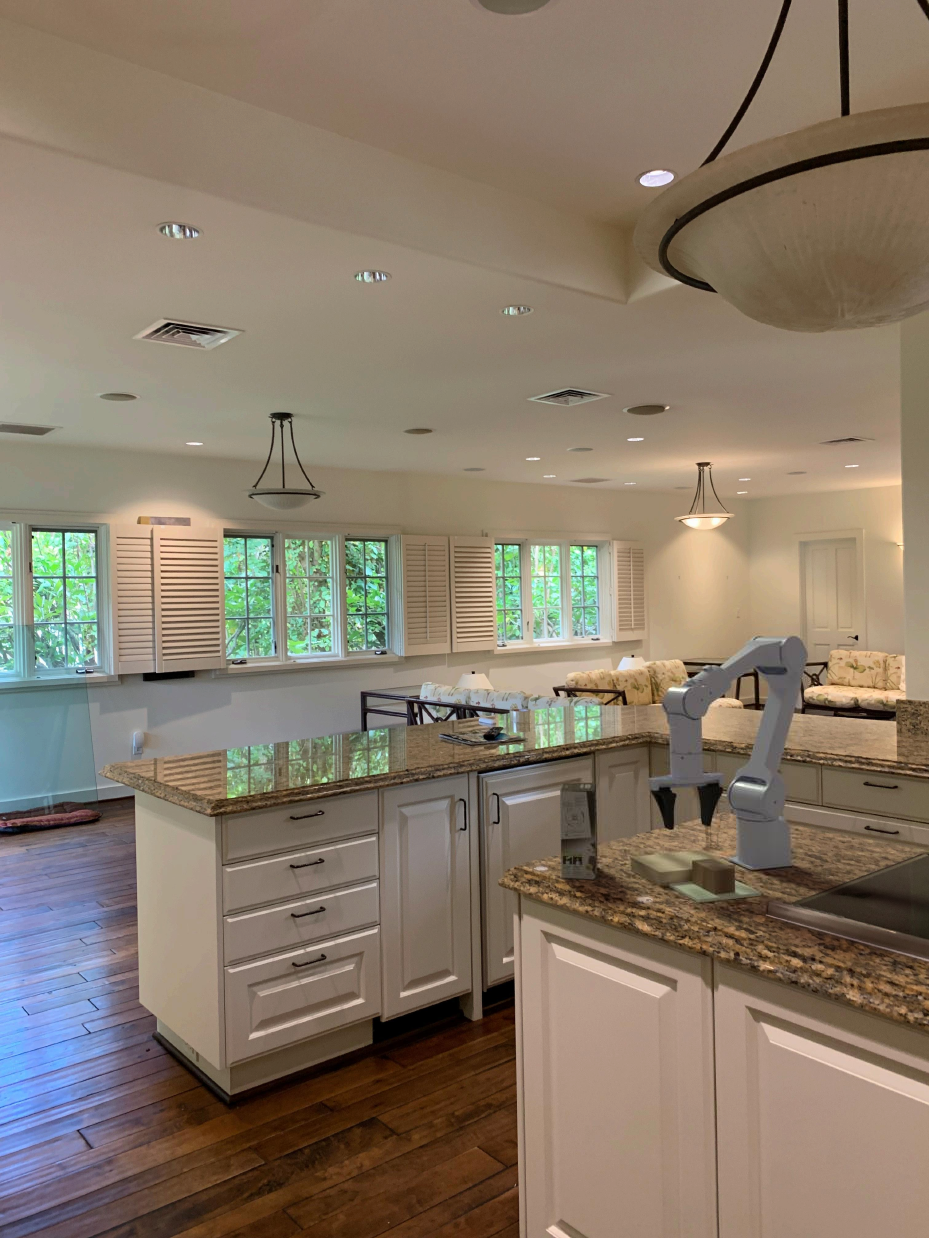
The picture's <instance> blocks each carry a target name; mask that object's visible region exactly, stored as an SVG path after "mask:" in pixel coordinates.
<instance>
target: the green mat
mask: <svg viewBox="0 0 929 1238" xmlns="http://www.w3.org/2000/svg"><path fill="white" fill-rule="evenodd" d="M668 887H669V888H671V889H673V890H674V891H677V893H680V894H682V895H684V897H685V896H686V897H687V898H689V899H690V900H692V901H694V900H695V902H696V903H699V904H700V903H701V902H702V903H709V902H718V900H719V901H727V900H732V899H734V900H735V899H742V898H751V897H752V898H753V897H760V896H762V891H759V890H757V889H755V888H753V887H751V886H748V885H746V884H744V883H742V882H740V881H737V880H736V879H735V892H734V893H726V894H717V895H714V894H712V893H710V892H708V891H706V890H704V889H702V888H700V887H699V886H697V885H695V884H693V883H692V881H690V882H681V883H672V884H669V886H668Z"/></svg>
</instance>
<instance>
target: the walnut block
mask: <svg viewBox="0 0 929 1238" xmlns="http://www.w3.org/2000/svg"><path fill="white" fill-rule="evenodd" d="M735 880H736V869H735V867H734V868H732V867H730V866H728V865H725V864H723V863H721V862H719V861H717V860H714V859H702V860H692V883H693V884H695V885H697V886H699V887H700V888H702V889H704V890H706V891H708V892H710V893H712V894H714V895H717V894H726V893H734V892H735Z"/></svg>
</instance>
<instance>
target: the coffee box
mask: <svg viewBox="0 0 929 1238" xmlns="http://www.w3.org/2000/svg"><path fill="white" fill-rule="evenodd" d="M559 790H560V857H561V858H560V862H561V863H560V865H561V866H560V867H561V868H560V871H561V874H560V876H561V878H563V879H575V880H576V879H577V880H580V879H581V880H593V881H594V880H595V879H596V875H597V870H598V866H599V865H598V819H597V818H598V817H597V815H598V814H597V783H596V782H574V783H571V782H564V783H563V784H562V786H561V789H559Z"/></svg>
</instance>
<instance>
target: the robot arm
mask: <svg viewBox="0 0 929 1238" xmlns="http://www.w3.org/2000/svg"><path fill="white" fill-rule="evenodd" d="M808 658H809V653H808V651H807V649H806V646H805V644H804V642H803V640H802V638H800V637H799V636H797V635H789V636H763V635H756V636H754V637H752V638H751V639H750V640H747V641H746V642H745V643H744V647H742V648H741V649H740V650H739V651H738V652H736V653H735V654H734V655H733V656H731V657H730V658H728V659H727V660H726V661H725V662H724V663H722V664H721V665H720V666H719V665H715V664H714V665H709V664H706V665H705V666H704V665H703V666H702V667H701V670H702V671H700V672H699V673H698V674H696V675H695V676H693V677H691V678H689V677H688V678H687V679H686V680H684V683H683V684H682V685H673V686H671V687H670V688H668V690H667V691H666V692H665V694H664V696H663V700H662V701H661V707H662V709H663V712H664V714H665V715H666V723H668V726H669V727H668V728H669V761H670V762H669V763H670V774H667V775H661V776H657V777H656V776H655V777H649V778H648V790H650V793H651V795H652V797H653V799H654V801H655V802H656V804H657V806H658V809H659V812H660V814H661V818H662V822H663V826H664V828H665V829H666V830H669V831H674V829H675V806H676V799H677V793H675V792H673V790H672V789H678V788H680V789H681V788H689V787H690V788H692V787H693V788H694V787H696V789H697V792H698V793H697V794H698V798H699V806H700V822H701V825H703V826H706V827H711V825H712V822H713V817H714V813H715V810H716V807H717V805H718V802H719V800H720V798H721V797H722V795H723V793H724V787H723V786H724V785H725V774H724V773H721V772H709V773H708V772H707V773H706V772H705V773H704V768H703V767H704V766H703V765H704V764H703V728H702V727H703V726H702V725H703V723H702V718H704V717H705V716H706V714H707V713H708V710H709V708H710V706H711V705H712V703H714V702H715V701H717V700H718V699H719V698H721V697H722V696H724V695H725V694H726V693H728V692H730V691H731V688H732V682H733V681H735V680H736V679H738V678H739V677H741V676H743V675H744V674H745V675H746V674H747V673H748V672H750V671H752V670H754V669H755V670H756V671H757V673H758V675H760V677H761V678H762V679H763V680H764V681H765V682H767V684H768V686H769V690H768V693H767V698H766V701H765V705H764V708H763V711H762V715H761V719H760V722H759V726H758V729H757V734H756V736H755V740H754V743H753V747H752V750H751V751H752V752H751V755H750V757H749V762H748V763H747V764H745V765H744V766H742V767H740V768H739V769H738V770H736V772H735V776H734V778H733V780H732V781H731V783H730V784H729V786H728V788H727V790H726V800H727V805H728V806H729V807H730V809H731V810H733V812H732V813H733V816H736V856H729V857H727V860H728V862H731V863H733V864H737V865H738V866H740V867H743V868H746V869H748V870H750V871H753V870H754V871H755V870H756V871H757V870H764V869H765V870H766V869H775V868H782V867H784V868H785V867H792V866H794V865H795V864H794V862H792V847H791V846H792V845H791V844H792V842H791V840H792V839H791V838H792V837H791V836H792V835H791V829H790V826H789V822H788V821H787V819H786V818H784V817H783V816H781V815H782V813H783V811H784V810H785V806H786V789H787V786H788V784H787V782H786V781H785V780H784V778H783V777H782V775H781V774H780V773H779V772H778V771H779V769H780V764H781V762H782V761H781V760H782V756H783V754H784V750H785V746H786V743H787V739H788V734H789V731H790V728H791V725H792V720H793V718H794V713H795V709H796V706H797V702H798V700H799V699H798V698H799V695H800V691H801V688H802V680H803V676H804V672H805V668H806V665H807V662H808Z"/></svg>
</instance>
